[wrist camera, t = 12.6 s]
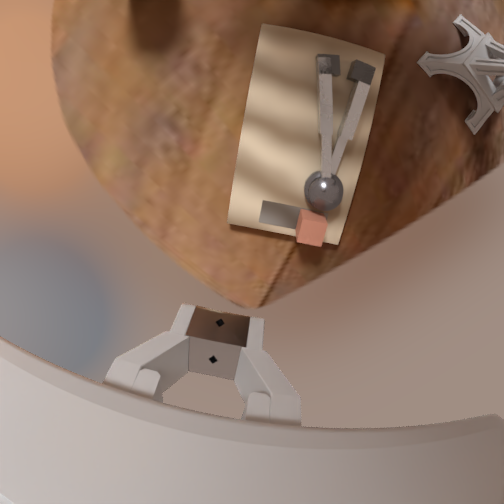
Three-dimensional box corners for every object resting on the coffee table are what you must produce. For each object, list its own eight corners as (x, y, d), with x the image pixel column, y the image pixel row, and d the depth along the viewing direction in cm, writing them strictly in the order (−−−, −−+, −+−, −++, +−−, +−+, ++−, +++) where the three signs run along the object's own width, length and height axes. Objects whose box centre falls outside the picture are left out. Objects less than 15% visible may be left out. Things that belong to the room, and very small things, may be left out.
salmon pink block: (300, 208, 36) (302, 218, 33) (323, 213, 36) (327, 224, 33) (295, 230, 38) (296, 242, 35) (317, 234, 38) (321, 246, 35)
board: (262, 26, 28) (261, 23, 26) (381, 56, 28) (385, 54, 26) (228, 218, 40) (226, 223, 38) (335, 239, 40) (338, 245, 39)
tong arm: (338, 205, 36) (341, 211, 34) (307, 204, 36) (308, 210, 34) (338, 58, 27) (342, 55, 25) (304, 56, 28) (306, 52, 26)
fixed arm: (333, 212, 37) (337, 218, 35) (298, 200, 36) (299, 206, 34) (382, 75, 28) (389, 73, 26) (346, 59, 28) (350, 56, 26)
